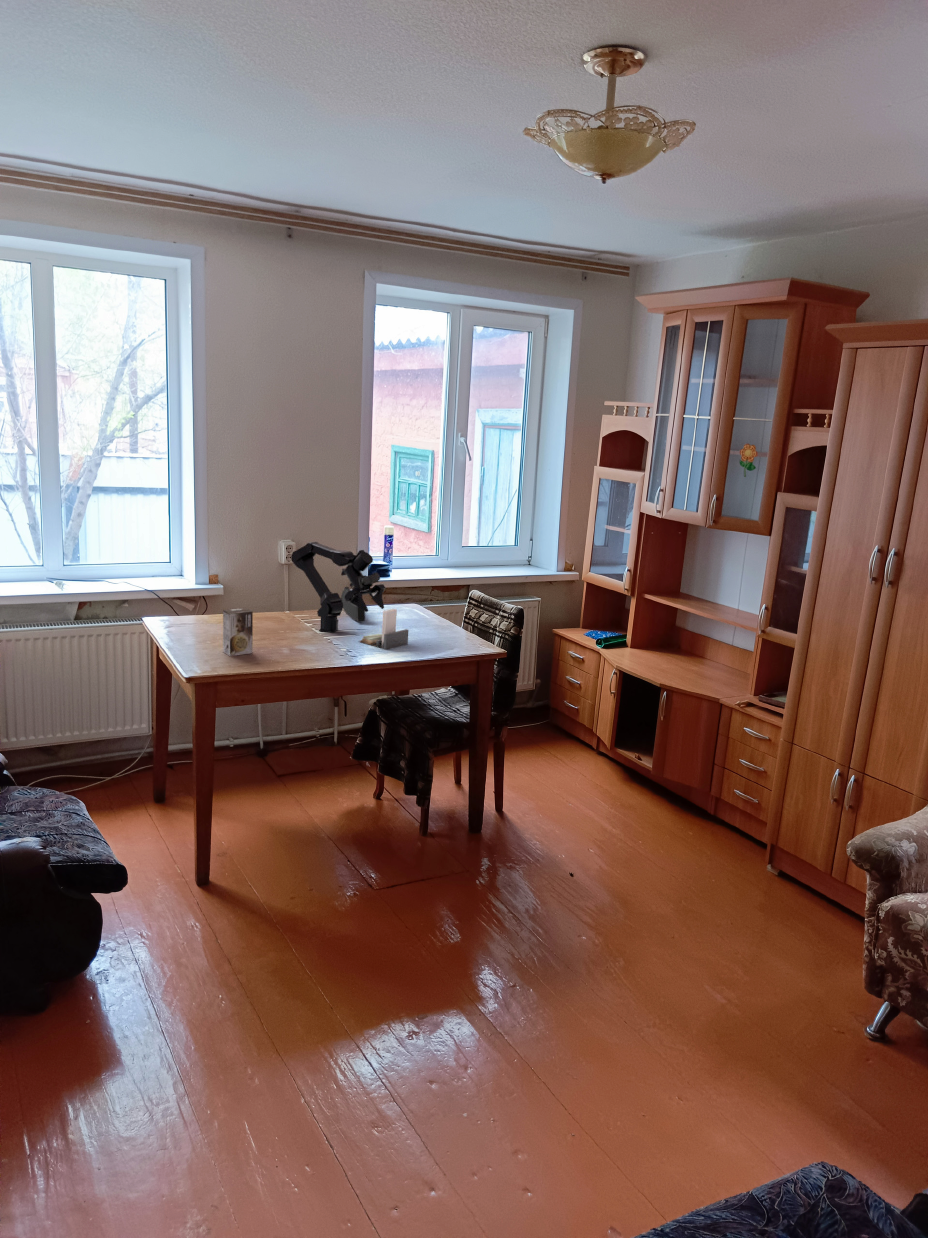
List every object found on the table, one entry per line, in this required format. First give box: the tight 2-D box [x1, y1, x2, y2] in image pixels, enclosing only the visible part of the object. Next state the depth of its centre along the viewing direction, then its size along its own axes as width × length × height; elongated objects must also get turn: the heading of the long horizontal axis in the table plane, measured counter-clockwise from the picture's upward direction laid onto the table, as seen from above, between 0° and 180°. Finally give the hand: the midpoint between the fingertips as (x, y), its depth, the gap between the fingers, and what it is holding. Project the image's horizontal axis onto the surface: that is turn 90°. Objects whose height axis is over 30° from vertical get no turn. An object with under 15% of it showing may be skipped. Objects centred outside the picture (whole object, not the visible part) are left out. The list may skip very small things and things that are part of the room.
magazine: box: [340, 586, 366, 623], centre depth 392 cm, size 17×3×30 cm
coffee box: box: [222, 607, 254, 657], centre depth 321 cm, size 9×6×16 cm
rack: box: [358, 628, 410, 651], centre depth 347 cm, size 15×13×7 cm
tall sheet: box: [381, 608, 398, 646], centre depth 344 cm, size 2×6×14 cm, turn 143°
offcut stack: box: [359, 633, 382, 646], centre depth 350 cm, size 6×11×2 cm, turn 143°
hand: (375, 609), depth 347 cm, fingers open, 9 cm apart
